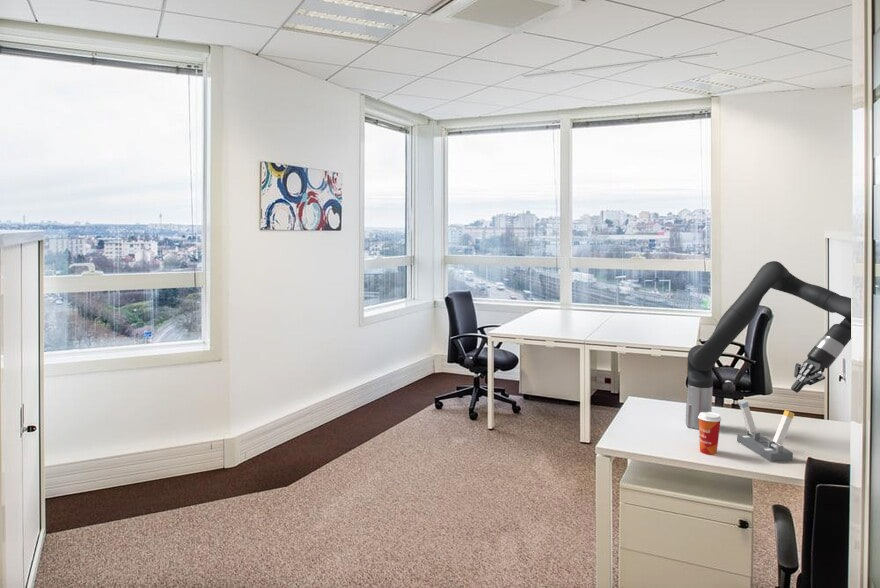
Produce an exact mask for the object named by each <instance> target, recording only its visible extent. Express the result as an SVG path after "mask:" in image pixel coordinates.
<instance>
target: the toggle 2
mask: <svg viewBox="0 0 880 588" xmlns="http://www.w3.org/2000/svg"><path fill="white" fill-rule="evenodd" d="M794 416H795V413H794V412H791V411H789V410H785V409H784V411H783V413H782V416H781V419H780V422H779V425H778V427H777V429H776V432H775V434H774V436H773V438H772V441H774V442H775V443H776V444H778V445H782V446H783V442H784V440H785V439H786V435H787V434H788V431H789V429H790V426H791V423H792V422H793V419H794ZM771 446H772V447H774V448H775V449H777V445H775V444H773V443H772V444H771Z"/></svg>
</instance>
